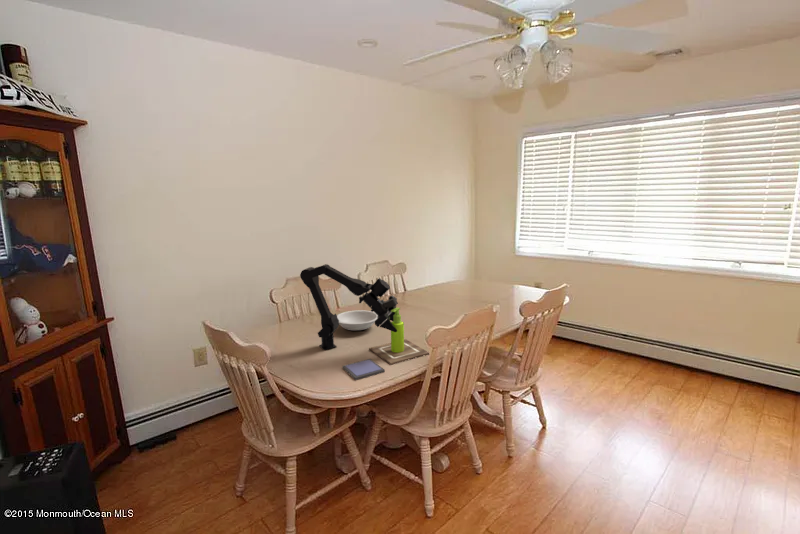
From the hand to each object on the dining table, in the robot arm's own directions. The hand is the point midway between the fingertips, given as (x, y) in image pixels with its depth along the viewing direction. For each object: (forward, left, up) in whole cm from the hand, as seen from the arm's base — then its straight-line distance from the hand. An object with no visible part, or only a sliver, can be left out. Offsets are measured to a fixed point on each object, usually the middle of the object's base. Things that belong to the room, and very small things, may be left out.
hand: (398, 328), depth 179 cm
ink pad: (+8, -22, -11) cm, 26 cm away
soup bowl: (-40, -2, -12) cm, 42 cm away
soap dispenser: (0, -1, -11) cm, 11 cm away
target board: (0, 0, -11) cm, 11 cm away
